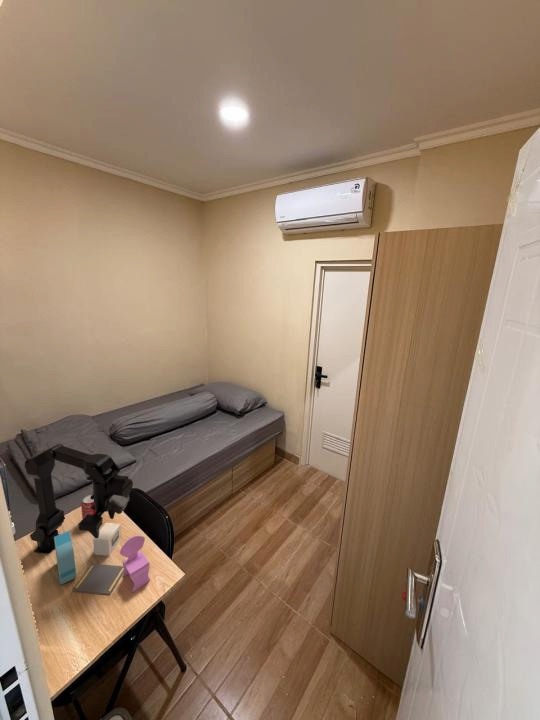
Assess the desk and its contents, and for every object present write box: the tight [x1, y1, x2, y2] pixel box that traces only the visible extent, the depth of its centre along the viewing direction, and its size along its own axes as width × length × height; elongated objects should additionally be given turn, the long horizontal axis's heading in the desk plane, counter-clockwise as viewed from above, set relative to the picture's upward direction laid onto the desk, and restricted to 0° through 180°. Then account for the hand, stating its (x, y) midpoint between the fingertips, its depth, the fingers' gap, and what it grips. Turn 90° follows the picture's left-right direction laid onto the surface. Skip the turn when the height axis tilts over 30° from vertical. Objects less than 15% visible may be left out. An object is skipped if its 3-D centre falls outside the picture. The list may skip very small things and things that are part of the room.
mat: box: [71, 562, 125, 596], centre depth 99 cm, size 13×10×1 cm
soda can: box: [80, 493, 103, 520], centre depth 123 cm, size 7×7×12 cm
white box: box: [92, 522, 122, 557], centre depth 112 cm, size 6×8×7 cm
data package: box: [54, 530, 77, 586], centre depth 101 cm, size 12×4×12 cm, turn 41°
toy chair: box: [119, 535, 151, 593], centre depth 99 cm, size 8×9×15 cm
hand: (104, 527), depth 105 cm, fingers open, 9 cm apart
